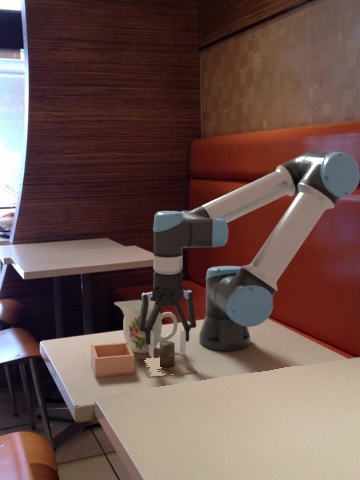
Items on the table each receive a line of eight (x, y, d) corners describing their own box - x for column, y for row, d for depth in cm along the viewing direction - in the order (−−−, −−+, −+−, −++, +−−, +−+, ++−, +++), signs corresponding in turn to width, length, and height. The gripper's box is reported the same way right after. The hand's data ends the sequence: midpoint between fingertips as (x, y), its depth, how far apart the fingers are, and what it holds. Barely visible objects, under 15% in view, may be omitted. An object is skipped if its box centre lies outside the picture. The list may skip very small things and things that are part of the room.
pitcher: (177, 356, 165) (178, 308, 162) (113, 356, 164) (112, 308, 162) (176, 342, 176) (177, 298, 173) (116, 342, 175) (115, 297, 173)
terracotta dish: (127, 359, 162) (127, 342, 161) (134, 374, 152) (134, 355, 151) (91, 362, 159) (90, 345, 158) (95, 377, 150) (95, 358, 149)
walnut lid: (183, 356, 166) (184, 333, 165) (197, 374, 153) (197, 350, 152) (138, 361, 162) (138, 337, 161) (148, 379, 150) (148, 354, 149)
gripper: (201, 266, 159) (200, 346, 163) (125, 269, 154) (126, 352, 158) (210, 272, 152) (208, 356, 156) (130, 276, 147) (131, 362, 151)
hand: (167, 354), depth 157 cm, fingers open, 8 cm apart
